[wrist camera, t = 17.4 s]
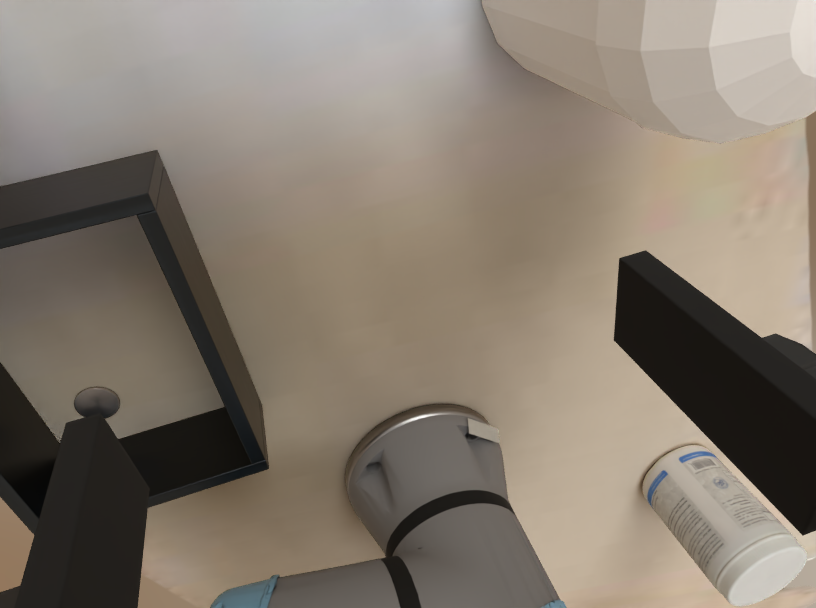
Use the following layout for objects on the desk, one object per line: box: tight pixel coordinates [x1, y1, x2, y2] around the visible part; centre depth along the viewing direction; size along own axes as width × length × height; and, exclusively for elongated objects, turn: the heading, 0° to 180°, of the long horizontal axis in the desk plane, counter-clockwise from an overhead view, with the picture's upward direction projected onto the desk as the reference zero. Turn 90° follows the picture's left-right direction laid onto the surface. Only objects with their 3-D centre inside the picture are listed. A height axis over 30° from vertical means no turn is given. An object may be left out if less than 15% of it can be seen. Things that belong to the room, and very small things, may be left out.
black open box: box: [0, 150, 269, 535], centre depth 38 cm, size 22×16×7 cm
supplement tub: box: [642, 445, 807, 606], centre depth 65 cm, size 10×10×15 cm
